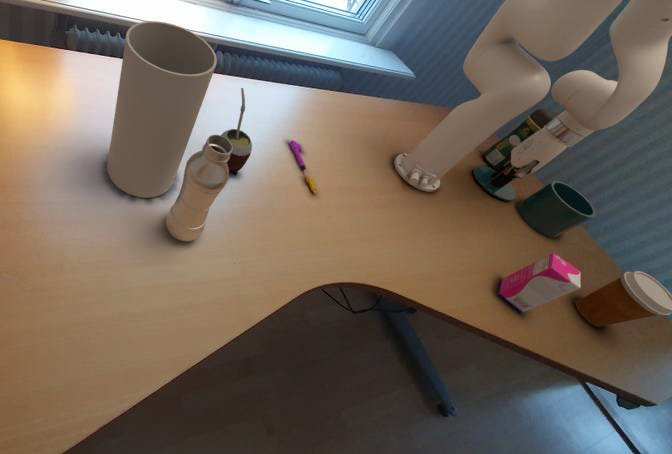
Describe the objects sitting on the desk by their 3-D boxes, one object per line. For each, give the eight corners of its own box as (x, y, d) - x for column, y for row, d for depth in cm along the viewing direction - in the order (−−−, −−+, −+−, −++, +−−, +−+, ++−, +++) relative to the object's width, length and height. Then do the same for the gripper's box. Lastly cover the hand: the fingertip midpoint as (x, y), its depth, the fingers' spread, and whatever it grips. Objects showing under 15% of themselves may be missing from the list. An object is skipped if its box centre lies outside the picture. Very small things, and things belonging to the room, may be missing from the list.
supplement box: (524, 297, 80) (582, 272, 71) (521, 314, 76) (581, 289, 68) (500, 278, 81) (554, 251, 72) (495, 294, 78) (552, 267, 69)
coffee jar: (499, 155, 116) (561, 107, 102) (514, 174, 112) (581, 126, 98) (477, 151, 114) (537, 101, 99) (491, 170, 109) (557, 121, 95)
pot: (559, 245, 96) (598, 225, 89) (517, 218, 98) (553, 197, 91) (556, 219, 103) (592, 199, 96) (517, 195, 105) (550, 173, 98)
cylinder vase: (93, 161, 68) (107, 25, 48) (148, 142, 74) (179, 17, 55) (132, 209, 64) (164, 83, 44) (186, 185, 71) (234, 67, 51)
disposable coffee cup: (560, 292, 84) (622, 267, 75) (587, 294, 87) (651, 270, 78) (589, 333, 79) (659, 312, 70) (617, 334, 82) (689, 313, 72)
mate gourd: (230, 185, 74) (262, 127, 63) (198, 163, 75) (224, 102, 63) (246, 166, 79) (278, 109, 67) (215, 146, 80) (242, 86, 68)
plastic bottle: (173, 250, 61) (212, 166, 46) (156, 218, 64) (187, 129, 49) (206, 240, 64) (252, 159, 49) (188, 210, 67) (227, 124, 52)
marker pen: (288, 142, 88) (311, 194, 79) (291, 138, 87) (315, 191, 78) (296, 145, 89) (320, 197, 81) (299, 141, 88) (324, 193, 80)
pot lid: (512, 209, 100) (536, 194, 95) (469, 183, 101) (491, 166, 96) (512, 185, 107) (534, 170, 102) (472, 161, 109) (493, 145, 104)
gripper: (547, 110, 95) (484, 161, 109) (551, 137, 85) (481, 189, 99) (575, 126, 94) (507, 175, 108) (582, 155, 84) (507, 205, 98)
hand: (495, 181), depth 103 cm, fingers closed on pot lid, 2 cm apart
